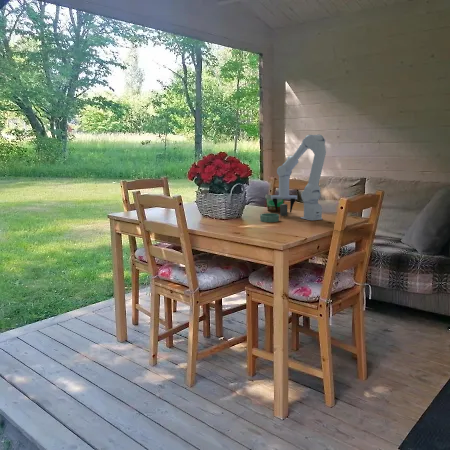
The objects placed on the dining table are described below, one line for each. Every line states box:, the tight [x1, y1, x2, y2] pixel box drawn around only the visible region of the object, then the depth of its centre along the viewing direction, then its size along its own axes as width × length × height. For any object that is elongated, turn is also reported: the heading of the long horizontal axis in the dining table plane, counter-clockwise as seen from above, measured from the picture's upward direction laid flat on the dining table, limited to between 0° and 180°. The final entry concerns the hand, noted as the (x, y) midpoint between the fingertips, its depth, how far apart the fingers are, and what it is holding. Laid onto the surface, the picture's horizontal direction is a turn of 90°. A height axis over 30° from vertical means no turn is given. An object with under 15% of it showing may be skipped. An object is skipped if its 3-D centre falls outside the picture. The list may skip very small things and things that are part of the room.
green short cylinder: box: [259, 212, 280, 223], centre depth 245 cm, size 10×10×3 cm
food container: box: [264, 193, 286, 213], centre depth 272 cm, size 12×6×10 cm, turn 73°
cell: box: [279, 203, 288, 217], centre depth 260 cm, size 4×4×6 cm
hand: (283, 212), depth 260 cm, fingers open, 7 cm apart
